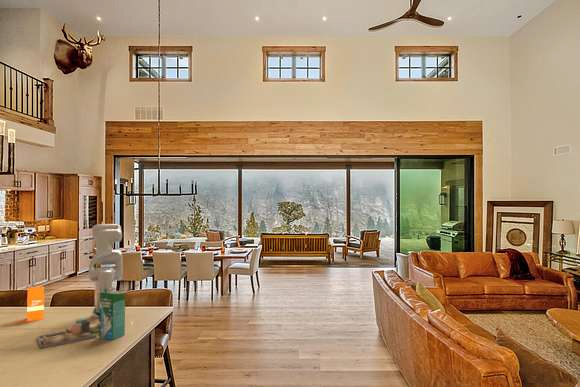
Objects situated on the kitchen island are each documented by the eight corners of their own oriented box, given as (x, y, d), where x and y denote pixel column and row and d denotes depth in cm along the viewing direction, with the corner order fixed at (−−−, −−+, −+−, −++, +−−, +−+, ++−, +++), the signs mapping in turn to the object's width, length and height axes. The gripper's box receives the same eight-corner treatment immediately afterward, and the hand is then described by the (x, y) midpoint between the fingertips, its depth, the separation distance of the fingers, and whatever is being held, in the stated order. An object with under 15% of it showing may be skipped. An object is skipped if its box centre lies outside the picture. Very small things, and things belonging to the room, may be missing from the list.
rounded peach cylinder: (80, 332, 204) (80, 322, 205) (81, 334, 201) (81, 324, 201) (71, 333, 202) (71, 324, 202) (72, 335, 198) (72, 326, 198)
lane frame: (89, 328, 218) (89, 326, 218) (96, 337, 203) (96, 335, 203) (37, 338, 202) (37, 336, 202) (40, 348, 187) (40, 346, 187)
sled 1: (87, 334, 208) (87, 319, 208) (90, 337, 202) (90, 322, 203) (42, 342, 194) (42, 327, 195) (44, 346, 189) (44, 331, 189)
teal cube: (85, 326, 214) (85, 317, 214) (87, 328, 210) (87, 319, 211) (75, 327, 211) (75, 319, 211) (77, 330, 207) (77, 321, 207)
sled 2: (105, 326, 222) (106, 312, 222) (108, 328, 217) (108, 315, 217) (65, 333, 209) (65, 319, 209) (67, 337, 203) (67, 322, 204)
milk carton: (124, 334, 207) (125, 289, 208) (112, 340, 199) (112, 293, 200) (112, 332, 210) (112, 288, 211) (99, 338, 202) (99, 292, 203)
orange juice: (43, 318, 236) (44, 287, 237) (26, 321, 231) (27, 289, 232) (43, 315, 243) (44, 285, 243) (27, 318, 238) (27, 286, 238)
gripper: (118, 288, 227) (117, 318, 226) (88, 292, 217) (87, 323, 216) (121, 290, 221) (121, 321, 221) (91, 294, 211) (90, 327, 210)
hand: (104, 322), depth 218 cm, fingers closed on sled 2, 3 cm apart
